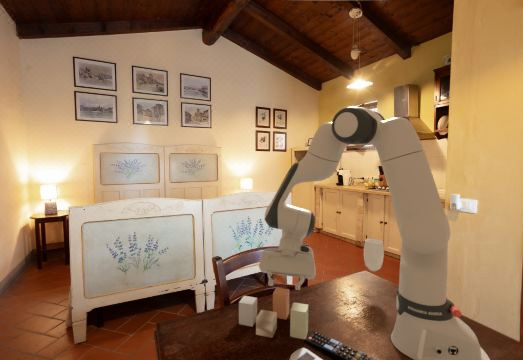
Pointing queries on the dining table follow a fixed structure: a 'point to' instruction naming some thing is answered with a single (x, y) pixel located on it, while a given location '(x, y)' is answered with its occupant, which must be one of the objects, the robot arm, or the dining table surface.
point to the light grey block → (247, 311)
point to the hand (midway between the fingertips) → (283, 287)
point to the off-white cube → (266, 323)
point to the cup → (373, 254)
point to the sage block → (299, 320)
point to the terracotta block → (281, 302)
